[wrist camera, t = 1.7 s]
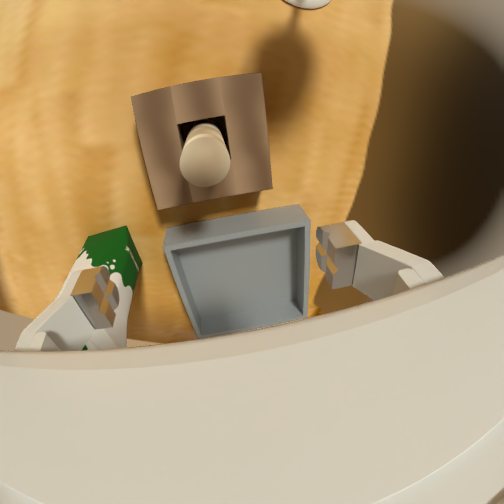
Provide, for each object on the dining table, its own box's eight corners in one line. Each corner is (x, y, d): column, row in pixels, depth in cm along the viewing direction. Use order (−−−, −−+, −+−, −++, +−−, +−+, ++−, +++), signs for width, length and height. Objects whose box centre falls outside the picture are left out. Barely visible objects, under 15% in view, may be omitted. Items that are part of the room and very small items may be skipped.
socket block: (162, 194, 35) (157, 210, 31) (140, 95, 27) (130, 96, 23) (264, 175, 36) (272, 188, 32) (253, 74, 28) (261, 72, 24)
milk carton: (81, 232, 36) (28, 333, 20) (130, 218, 36) (90, 325, 20) (103, 276, 41) (72, 378, 25) (150, 265, 41) (133, 376, 25)
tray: (197, 318, 50) (197, 338, 45) (166, 227, 38) (163, 246, 34) (299, 298, 51) (307, 317, 47) (298, 204, 40) (310, 220, 36)
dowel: (191, 151, 33) (184, 191, 21) (186, 122, 30) (174, 144, 19) (222, 146, 33) (233, 182, 22) (217, 116, 31) (226, 134, 19)
